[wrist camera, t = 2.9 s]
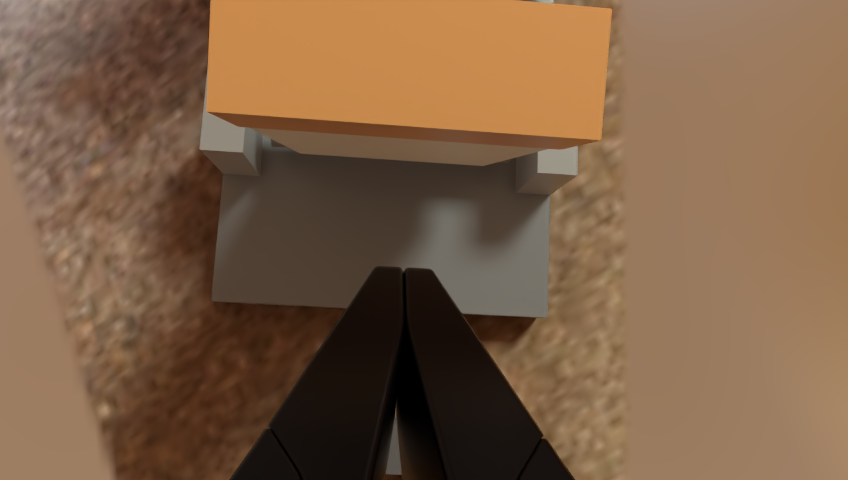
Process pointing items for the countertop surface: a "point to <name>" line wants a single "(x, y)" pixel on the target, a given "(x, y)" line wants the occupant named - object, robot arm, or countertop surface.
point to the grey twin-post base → (379, 223)
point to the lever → (411, 76)
